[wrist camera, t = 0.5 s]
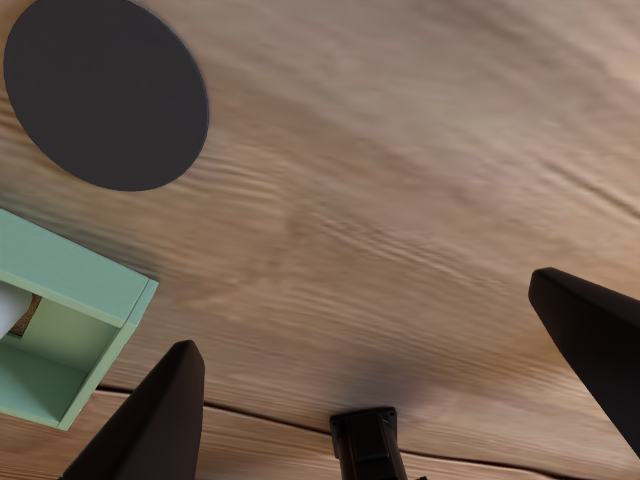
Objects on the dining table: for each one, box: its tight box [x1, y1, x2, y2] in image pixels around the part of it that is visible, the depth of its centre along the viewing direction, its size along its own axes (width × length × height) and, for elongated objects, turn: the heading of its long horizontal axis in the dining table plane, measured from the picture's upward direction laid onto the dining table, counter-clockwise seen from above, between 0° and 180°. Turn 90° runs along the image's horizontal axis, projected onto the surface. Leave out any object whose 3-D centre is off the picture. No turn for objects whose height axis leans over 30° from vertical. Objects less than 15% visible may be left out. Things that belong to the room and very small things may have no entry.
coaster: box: [3, 0, 209, 191], centre depth 19 cm, size 10×10×1 cm
